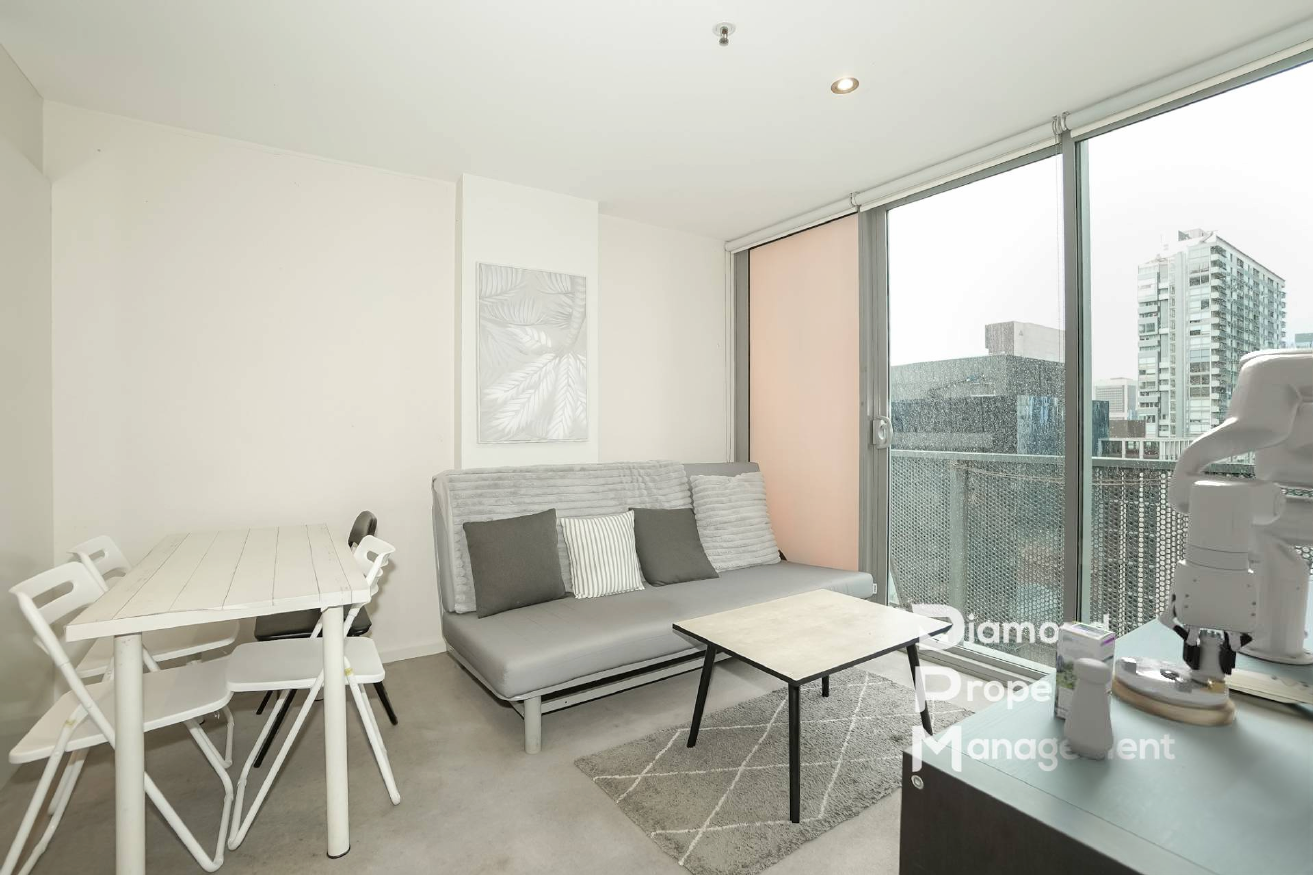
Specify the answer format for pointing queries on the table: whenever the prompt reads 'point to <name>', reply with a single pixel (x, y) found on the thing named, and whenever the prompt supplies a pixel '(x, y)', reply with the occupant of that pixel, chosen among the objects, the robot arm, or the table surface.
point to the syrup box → (1075, 645)
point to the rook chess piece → (1208, 657)
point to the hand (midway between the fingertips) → (1207, 668)
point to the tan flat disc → (1174, 708)
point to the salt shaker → (1090, 711)
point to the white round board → (1170, 683)
